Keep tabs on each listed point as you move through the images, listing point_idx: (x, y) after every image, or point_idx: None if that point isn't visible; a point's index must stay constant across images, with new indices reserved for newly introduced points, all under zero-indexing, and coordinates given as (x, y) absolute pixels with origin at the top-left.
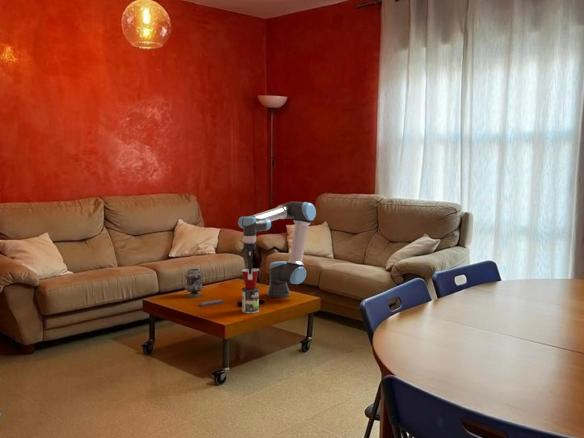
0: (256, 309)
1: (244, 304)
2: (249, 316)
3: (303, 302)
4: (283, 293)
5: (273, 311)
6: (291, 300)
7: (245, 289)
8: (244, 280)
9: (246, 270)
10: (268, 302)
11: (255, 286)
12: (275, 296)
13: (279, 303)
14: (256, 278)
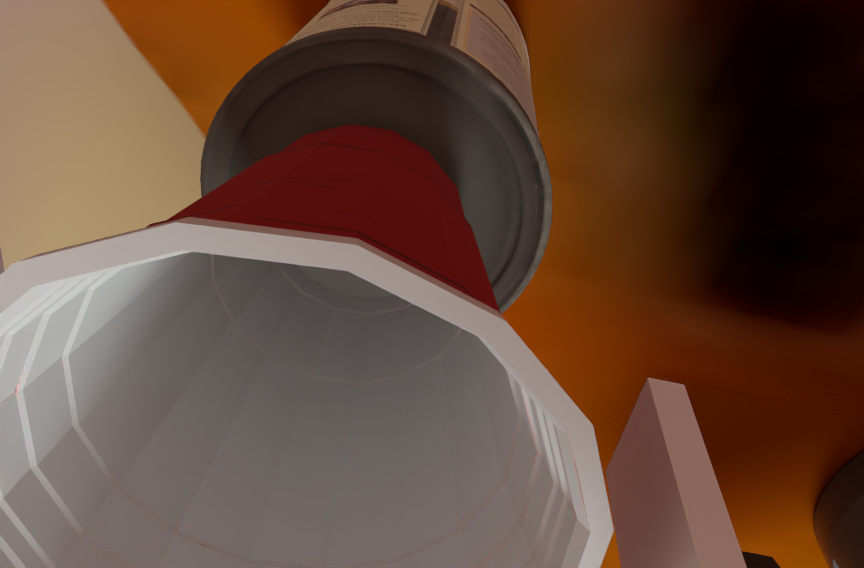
0: None
1: (329, 3)
2: (174, 13)
3: None
4: (834, 557)
5: None
6: None
7: (330, 104)
8: (287, 164)
9: (548, 430)
10: (713, 356)
11: (315, 321)
12: (859, 470)
13: (620, 437)
14: (239, 456)
